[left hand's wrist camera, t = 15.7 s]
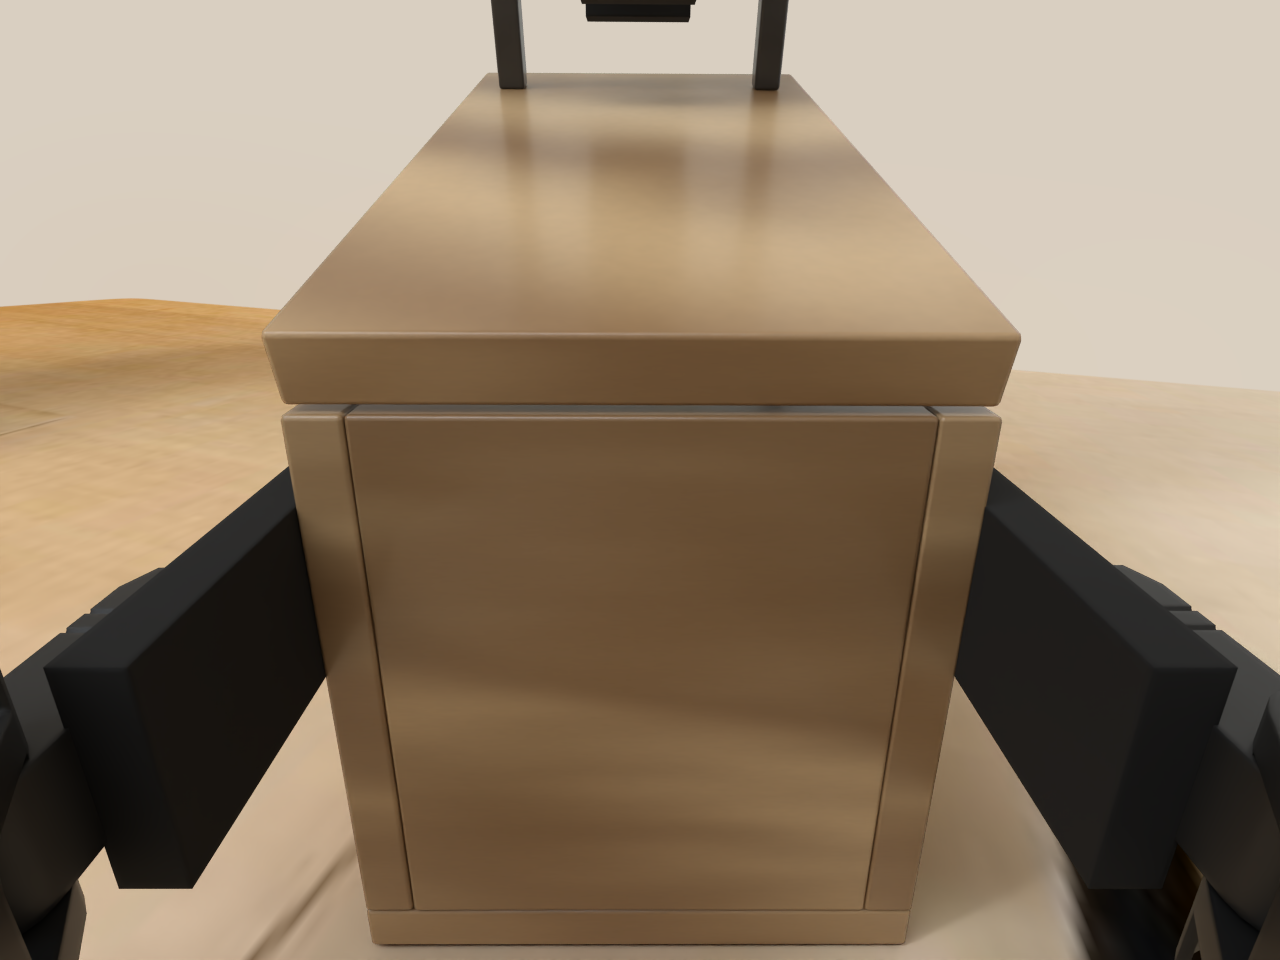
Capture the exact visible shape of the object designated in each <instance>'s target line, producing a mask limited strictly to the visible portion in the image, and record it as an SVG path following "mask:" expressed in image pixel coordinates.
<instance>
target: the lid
mask: <svg viewBox="0 0 1280 960" xmlns="http://www.w3.org/2000/svg"><path fill="white" fill-rule="evenodd" d="M788 1H789V0H759V4H758V16H757V28H756V40H755V51H754V63H753V74H605V73H603V74H602V73H526V62H525V48H524V35H523V22H522V9H521V0H491V6H492V16H493V26H494V37H495V47H496V57H497V68H498V73H488V74H486V76H485V77H484V78H483V79H482V80H481V81H480V82H479V84H478V85H477V86H476V87H475V88H474V89H473V91H472V92H471V93H470V94H469V95H468V96H467V97H466V98H465V100H464V101H463V102H462V103H461V104H460V105H459V106H458V108H457V109H456V110H455V111H454V112H453V113H452V115H451V116H450V117H449V118H448V119H447V120H446V121H445V123H444V124H443V125H442V126H441V127H440V128H439V129H438V131H437V132H436V133H435V134H434V135H433V136H432V138H431V139H430V140H429V141H428V142H427V143H426V144H425V145H424V147H423V148H422V149H421V150H420V151H419V152H418V154H417V155H416V156H415V157H414V158H413V159H412V160H411V162H410V163H409V164H408V165H407V166H406V167H405V168H404V170H403V171H402V172H401V173H400V174H399V175H398V176H397V178H396V179H395V180H394V181H393V182H392V183H391V185H390V186H389V187H388V188H387V189H386V190H385V191H384V192H383V194H382V195H381V196H380V197H379V198H378V199H377V201H376V202H375V203H374V204H373V205H372V206H371V207H370V209H369V210H368V211H367V212H366V213H365V214H364V215H363V217H362V218H361V219H360V220H359V221H358V222H357V224H356V225H355V226H354V227H353V228H352V229H351V230H350V232H349V233H348V234H347V235H346V236H345V237H344V238H343V240H342V241H341V242H340V243H339V244H338V245H337V246H336V248H335V249H334V250H333V251H332V252H331V253H330V254H329V256H328V257H327V258H326V259H325V260H324V261H323V262H322V264H321V265H320V266H319V267H318V268H317V269H316V270H315V272H314V273H313V274H312V275H311V276H310V277H309V279H308V280H307V281H306V282H305V283H304V284H303V285H302V287H301V288H300V289H299V290H298V291H297V292H296V293H295V295H294V296H293V297H292V298H291V299H290V300H289V301H288V303H287V304H286V305H285V306H284V307H283V308H282V309H281V311H280V312H279V313H278V314H277V315H276V316H275V318H274V319H273V320H272V321H271V322H270V323H269V324H268V326H267V327H266V328H265V329H264V330H263V331H262V340H263V343H264V346H265V349H266V352H267V356H268V359H269V362H270V365H271V368H272V371H273V374H274V377H275V380H276V383H277V386H278V389H279V392H280V396H281V399H282V401H283V402H284V403H286V404H395V405H718V406H996V405H998V404H999V403H1000V401H1001V398H1002V395H1003V392H1004V389H1005V387H1006V384H1007V381H1008V378H1009V375H1010V372H1011V369H1012V366H1013V363H1014V360H1015V357H1016V354H1017V351H1018V348H1019V345H1020V342H1021V335H1020V333H1019V332H1018V331H1017V330H1016V329H1015V327H1014V326H1013V325H1012V324H1011V323H1010V322H1009V321H1008V319H1007V318H1006V317H1005V316H1004V315H1003V314H1002V313H1001V312H1000V310H999V309H998V308H997V307H996V306H995V305H994V304H993V303H992V301H991V300H990V299H989V298H988V297H987V296H986V295H985V294H984V292H983V291H982V290H981V289H980V288H979V287H978V286H977V285H976V283H975V282H974V281H973V280H972V279H971V278H970V277H969V275H968V274H967V273H966V272H965V271H964V270H963V269H962V268H961V266H960V265H959V264H958V263H957V262H956V261H955V260H954V259H953V257H952V256H951V255H950V254H949V253H948V252H947V251H946V250H945V248H944V247H943V246H942V245H941V244H940V243H939V242H938V241H937V239H936V238H935V237H934V236H933V235H932V234H931V233H930V231H929V230H928V229H927V228H926V227H925V226H924V225H923V224H922V222H921V221H920V220H919V219H918V218H917V217H916V216H915V215H914V213H913V212H912V211H911V210H910V209H909V208H908V207H907V206H906V204H905V203H904V202H903V201H902V200H901V199H900V198H899V196H898V195H897V194H896V193H895V192H894V191H893V190H892V189H891V187H890V186H889V185H888V184H887V183H886V182H885V181H884V180H883V178H882V177H881V176H880V175H879V174H878V173H877V172H876V171H875V169H874V168H873V167H872V166H871V165H870V164H869V163H868V162H867V160H866V159H865V158H864V157H863V156H862V155H861V154H860V152H859V151H858V150H857V149H856V148H855V147H854V146H853V145H852V143H851V142H850V141H849V140H848V139H847V138H846V137H845V136H844V134H843V133H842V132H841V131H840V130H839V129H838V128H837V127H836V125H835V124H834V123H833V122H832V121H831V120H830V119H829V118H828V116H827V115H826V114H825V113H824V112H823V111H822V110H821V108H820V107H819V106H818V105H817V104H816V103H815V102H814V101H813V99H812V98H811V97H810V96H809V95H808V94H807V93H806V92H805V90H804V89H803V88H802V87H801V86H800V85H799V84H798V83H797V81H796V80H795V79H794V78H793V77H792V76H791V75H784V74H783V75H782V74H781V68H782V58H783V49H784V39H785V30H786V20H787V11H788Z"/></svg>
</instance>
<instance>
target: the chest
mask: <svg viewBox="0 0 1280 960" xmlns="http://www.w3.org/2000/svg"><path fill="white" fill-rule="evenodd" d="M281 424H282V430H283V435H284V441H285V447H286V452H287V458H288V464H289V469H290V475H291V481H292V486H293V492H294V498H295V503H296V509H297V515H298V521H299V526H300V532H301V538H302V543H303V549H304V555H305V560H306V566H307V572H308V577H309V583H310V589H311V594H312V600H313V606H314V611H315V617H316V623H317V628H318V634H319V640H320V645H321V651H322V657H323V663H324V668H325V674H326V680H327V685H328V691H329V697H330V702H331V708H332V714H333V719H334V725H335V731H336V736H337V742H338V748H339V753H340V759H341V765H342V770H343V776H344V782H345V787H346V793H347V799H348V805H349V810H350V816H351V822H352V827H353V833H354V839H355V844H356V850H357V856H358V861H359V867H360V873H361V878H362V884H363V890H364V895H365V901H366V907H367V909H368V911H367V913H368V919H369V925H370V931H371V936H372V942H373V943H374V944H902V943H904V942H905V936H906V931H907V926H908V920H909V915H910V909H911V906H912V900H913V895H914V889H915V884H916V879H917V873H918V868H919V863H920V857H921V852H922V847H923V841H924V836H925V831H926V825H927V820H928V815H929V809H930V804H931V798H932V793H933V788H934V782H935V777H936V772H937V766H938V761H939V756H940V750H941V745H942V740H943V734H944V729H945V724H946V718H947V713H948V708H949V702H950V697H951V691H952V686H953V681H954V675H955V670H956V664H957V659H958V653H959V648H960V642H961V637H962V632H963V626H964V621H965V615H966V610H967V604H968V599H969V593H970V588H971V582H972V577H973V571H974V566H975V560H976V555H977V549H978V544H979V538H980V533H981V528H982V522H983V517H984V511H985V507H986V504H987V499H988V494H989V488H990V483H991V477H992V472H993V467H994V461H995V456H996V451H997V445H998V440H999V435H1000V429H1001V424H1002V420H1001V417H999V416H998V415H996V414H995V413H993V412H992V411H990V410H989V409H987V408H985V407H984V406H718V405H395V404H299V405H297V406H296V407H294V408H293V409H291V410H290V411H288V412H287V413H285V414H284V415H282V418H281Z"/></svg>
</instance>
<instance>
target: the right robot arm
mask: <svg viewBox="0 0 1280 960" xmlns="http://www.w3.org/2000/svg"><path fill="white" fill-rule="evenodd" d="M581 2H582V4H586V18H587V21H595V22H689V19H690V5H695V2H696V0H581Z"/></svg>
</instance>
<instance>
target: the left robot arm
mask: <svg viewBox="0 0 1280 960" xmlns="http://www.w3.org/2000/svg"><path fill="white" fill-rule="evenodd" d="M1215 626H1216V625H1214V624H1213V623H1212V622H1211V621H1209V620H1208V619H1207V618H1205V617H1204V616H1203V615H1202V614H1200V613H1199V612H1198V611H1192V610H1191V606H1190V605H1189V604H1187V603H1186V602H1185V601H1184V600H1182V599H1181V598H1180V597H1178V596H1177V595H1176V594H1175V593H1173V592H1172V591H1171V590H1169V589H1168V588H1167V587H1166V586H1164V585H1163V584H1161V583H1159V582H1157V581H1155V580H1153V579H1151V578H1149V577H1147V576H1144V575H1142V574H1140V573H1138V572H1136V571H1134V570H1132V569H1130V568H1128V567H1126V566H1123V565H1112V564H1111V563H1110V562H1108V561H1107V560H1106V559H1105V558H1104V557H1102V556H1101V555H1100V554H1099V553H1097V552H1096V551H1095V550H1094V549H1093V548H1091V547H1090V546H1089V545H1088V544H1086V543H1085V542H1084V541H1083V540H1082V539H1080V538H1079V537H1078V536H1077V535H1075V534H1074V533H1073V532H1072V531H1071V530H1069V529H1068V528H1067V527H1066V526H1064V525H1063V524H1062V523H1061V522H1060V521H1058V520H1057V519H1056V518H1055V517H1053V516H1052V515H1051V514H1050V513H1049V512H1047V511H1046V510H1045V509H1044V508H1042V507H1041V506H1040V505H1039V504H1038V503H1036V502H1035V501H1034V500H1033V499H1031V498H1030V497H1029V496H1028V495H1027V494H1025V493H1024V492H1023V491H1022V490H1021V489H1019V488H1018V487H1017V486H1016V485H1014V484H1013V483H1012V482H1011V481H1010V480H1008V479H1007V478H1006V477H1005V476H1003V475H1002V474H1001V473H1000V472H999V471H997V470H996V469H995V468H994V467H993V472H992V477H991V483H990V488H989V494H988V499H987V504H986V507H985V511H984V517H983V522H982V528H981V533H980V538H979V544H978V549H977V555H976V560H975V566H974V571H973V577H972V582H971V588H970V593H969V599H968V604H967V610H966V615H965V621H964V626H963V632H962V637H961V642H960V648H959V653H958V659H957V664H956V670H955V675H954V676H955V678H956V679H957V681H958V682H959V684H960V686H961V687H962V689H963V690H964V692H965V694H966V695H967V697H968V698H969V700H970V702H971V703H972V705H973V706H974V708H975V709H976V711H977V713H978V714H979V716H980V717H981V719H982V721H983V722H984V724H985V725H986V727H987V728H988V730H989V732H990V733H991V735H992V736H993V738H994V740H995V741H996V743H997V744H998V746H999V748H1000V749H1001V751H1002V752H1003V754H1004V755H1005V757H1006V759H1007V760H1008V762H1009V763H1010V765H1011V767H1012V768H1013V770H1014V771H1015V773H1016V774H1017V776H1018V778H1019V779H1020V781H1021V782H1022V784H1023V786H1024V787H1025V789H1026V790H1027V792H1028V794H1029V795H1030V797H1031V798H1032V800H1033V801H1034V803H1035V805H1036V806H1037V808H1038V809H1039V811H1040V813H1041V814H1042V816H1043V817H1044V819H1045V820H1046V822H1047V824H1048V825H1049V827H1050V828H1051V830H1052V832H1053V833H1054V835H1055V836H1056V838H1057V840H1058V841H1059V843H1060V844H1061V846H1062V847H1063V849H1064V851H1065V852H1066V854H1067V855H1068V857H1069V859H1070V860H1071V862H1072V863H1073V865H1074V866H1075V868H1076V870H1077V871H1078V873H1079V874H1080V876H1081V878H1082V879H1083V881H1084V882H1085V884H1086V886H1087V887H1088V889H1162V887H1163V884H1164V881H1165V879H1166V876H1167V873H1168V870H1169V867H1170V864H1171V861H1172V858H1173V855H1174V852H1175V850H1176V847H1177V844H1179V846H1180V847H1181V848H1182V849H1183V850H1184V852H1185V853H1186V854H1187V855H1188V857H1189V858H1190V859H1191V860H1192V862H1193V863H1194V864H1195V865H1196V867H1197V868H1198V869H1199V870H1200V871H1201V873H1202V874H1203V875H1204V876H1203V878H1202V881H1201V884H1200V887H1199V889H1198V892H1197V895H1196V897H1195V900H1194V903H1193V906H1192V908H1191V911H1190V914H1189V916H1188V919H1187V922H1186V925H1185V927H1184V930H1183V933H1182V935H1181V938H1180V941H1179V944H1178V946H1177V949H1176V955H1175V960H1191V959H1192V956H1193V954H1194V953H1195V952H1197V951H1199V950H1200V952H1201V958H1202V960H1280V675H1279V674H1278V673H1276V672H1275V671H1274V670H1272V669H1271V668H1270V667H1269V666H1267V665H1266V664H1265V663H1263V662H1262V661H1261V660H1260V659H1258V658H1257V657H1256V656H1254V655H1253V654H1252V653H1251V652H1249V651H1248V650H1247V649H1245V648H1244V647H1243V646H1242V645H1240V644H1239V643H1238V642H1236V641H1235V640H1234V639H1233V638H1231V637H1230V636H1229V635H1227V634H1226V633H1225V632H1224V631H1222V630H1216V628H1215ZM66 629H67V631H66V633H60V634H58V635H57V636H56V637H55V638H53V639H52V640H51V641H50V642H48V643H47V644H46V645H44V646H43V647H42V648H41V649H39V650H38V651H37V652H35V653H34V654H33V655H32V656H30V657H29V658H28V659H27V660H25V661H24V662H23V663H21V664H20V665H19V666H18V667H16V668H15V669H14V670H13V671H11V672H10V673H9V674H7V675H6V676H5V677H4V678H3V675H2V673H1V670H0V960H79V955H80V949H81V943H82V937H83V932H84V926H85V920H86V914H87V913H86V905H85V898H84V895H83V892H82V889H81V887H80V884H79V881H78V878H79V877H80V876H81V875H82V873H83V872H84V871H85V870H86V868H87V867H88V866H89V865H90V863H91V862H92V861H93V860H94V858H95V857H96V856H97V855H98V853H99V852H100V851H101V850H102V848H103V847H104V846H105V849H106V852H107V855H108V858H109V861H110V864H111V867H112V870H113V873H114V875H115V878H116V881H117V884H118V887H119V889H192V888H193V887H194V885H195V884H196V882H197V880H198V879H199V877H200V876H201V874H202V873H203V871H204V869H205V868H206V866H207V865H208V863H209V861H210V860H211V858H212V857H213V855H214V853H215V852H216V850H217V849H218V847H219V846H220V844H221V842H222V841H223V839H224V838H225V836H226V834H227V833H228V831H229V830H230V828H231V826H232V825H233V823H234V822H235V820H236V819H237V817H238V815H239V814H240V812H241V811H242V809H243V807H244V806H245V804H246V803H247V801H248V800H249V798H250V796H251V795H252V793H253V792H254V790H255V788H256V787H257V785H258V784H259V782H260V780H261V779H262V777H263V776H264V774H265V773H266V771H267V769H268V768H269V766H270V765H271V763H272V761H273V760H274V758H275V757H276V755H277V753H278V752H279V750H280V749H281V747H282V746H283V744H284V742H285V741H286V739H287V738H288V736H289V734H290V733H291V731H292V730H293V728H294V726H295V725H296V723H297V722H298V720H299V719H300V717H301V715H302V714H303V712H304V711H305V709H306V707H307V706H308V704H309V703H310V701H311V700H312V698H313V696H314V695H315V693H316V692H317V690H318V688H319V687H320V685H321V684H322V682H323V680H324V679H325V677H326V674H325V668H324V663H323V657H322V651H321V645H320V640H319V634H318V628H317V623H316V617H315V611H314V606H313V600H312V594H311V589H310V583H309V577H308V572H307V566H306V560H305V555H304V549H303V543H302V538H301V532H300V526H299V521H298V515H297V509H296V503H295V498H294V492H293V486H292V481H291V475H290V469H289V466H288V467H287V468H286V469H285V470H283V471H282V472H281V473H280V474H279V475H277V476H276V477H275V478H274V479H272V480H271V481H270V482H269V483H268V484H266V485H265V486H264V487H263V488H261V489H260V490H259V491H258V492H257V493H255V494H254V495H253V496H252V497H251V498H249V499H248V500H247V501H246V502H244V503H243V504H242V505H241V506H240V507H238V508H237V509H236V510H235V511H233V512H232V513H231V514H230V515H229V516H227V517H226V518H225V519H224V520H222V521H221V522H220V523H219V524H218V525H216V526H215V527H214V528H213V529H211V530H210V531H209V532H208V533H207V534H205V535H204V536H203V537H202V538H200V539H199V540H198V541H197V542H196V543H194V544H193V545H192V546H191V547H189V548H188V549H187V550H186V551H185V552H183V553H182V554H181V555H180V556H178V557H177V558H176V559H175V560H174V561H172V562H171V563H170V564H169V565H167V566H166V567H165V568H157V569H155V570H153V571H151V572H149V573H147V574H145V575H143V576H141V577H139V578H137V579H134V580H132V581H130V582H128V583H126V584H124V585H122V586H120V587H118V588H117V589H116V590H115V591H113V592H112V593H111V594H109V595H108V596H107V597H106V598H104V599H103V600H102V601H101V602H99V603H98V604H97V605H95V606H94V607H93V608H92V609H91V612H90V614H84V615H83V616H81V617H80V618H79V619H78V620H76V621H75V622H74V623H72V624H71V625H70V626H69V627H67V628H66Z"/></svg>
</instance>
